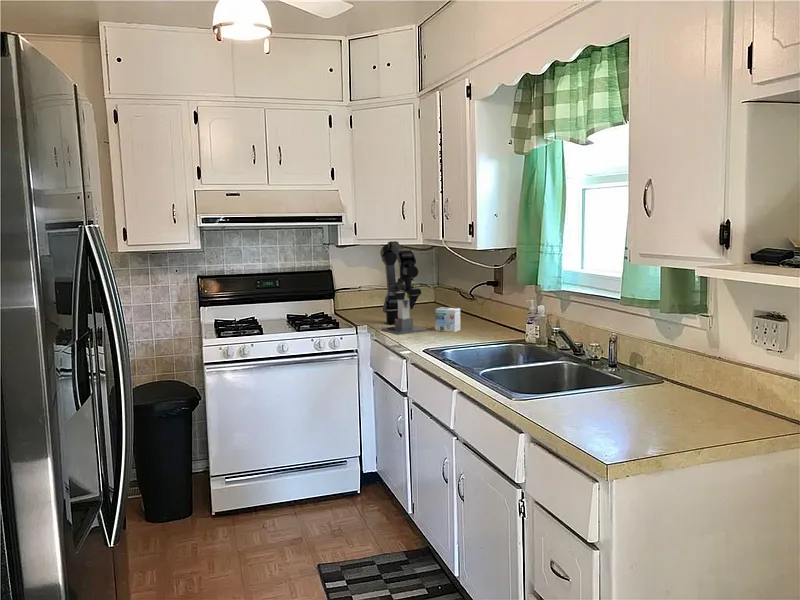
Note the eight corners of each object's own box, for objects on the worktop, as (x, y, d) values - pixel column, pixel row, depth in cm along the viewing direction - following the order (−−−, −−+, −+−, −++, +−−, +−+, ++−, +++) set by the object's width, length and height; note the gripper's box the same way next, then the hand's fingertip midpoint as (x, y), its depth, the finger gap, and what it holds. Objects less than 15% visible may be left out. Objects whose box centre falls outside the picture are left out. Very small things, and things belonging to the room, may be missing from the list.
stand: (381, 330, 331) (381, 318, 330) (408, 326, 339) (408, 315, 339) (399, 334, 317) (398, 322, 317) (426, 330, 326) (426, 318, 325)
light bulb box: (435, 330, 326) (434, 308, 325) (440, 328, 332) (440, 307, 331) (455, 332, 321) (455, 309, 320) (460, 330, 327) (460, 308, 326)
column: (397, 320, 328) (397, 299, 327) (405, 319, 331) (404, 299, 329) (402, 321, 325) (402, 300, 324) (409, 320, 327) (409, 299, 326)
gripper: (381, 276, 329) (382, 307, 331) (401, 278, 314) (402, 311, 316) (400, 274, 335) (401, 305, 337) (421, 277, 320) (422, 309, 322)
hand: (406, 308), depth 328 cm, fingers open, 9 cm apart
